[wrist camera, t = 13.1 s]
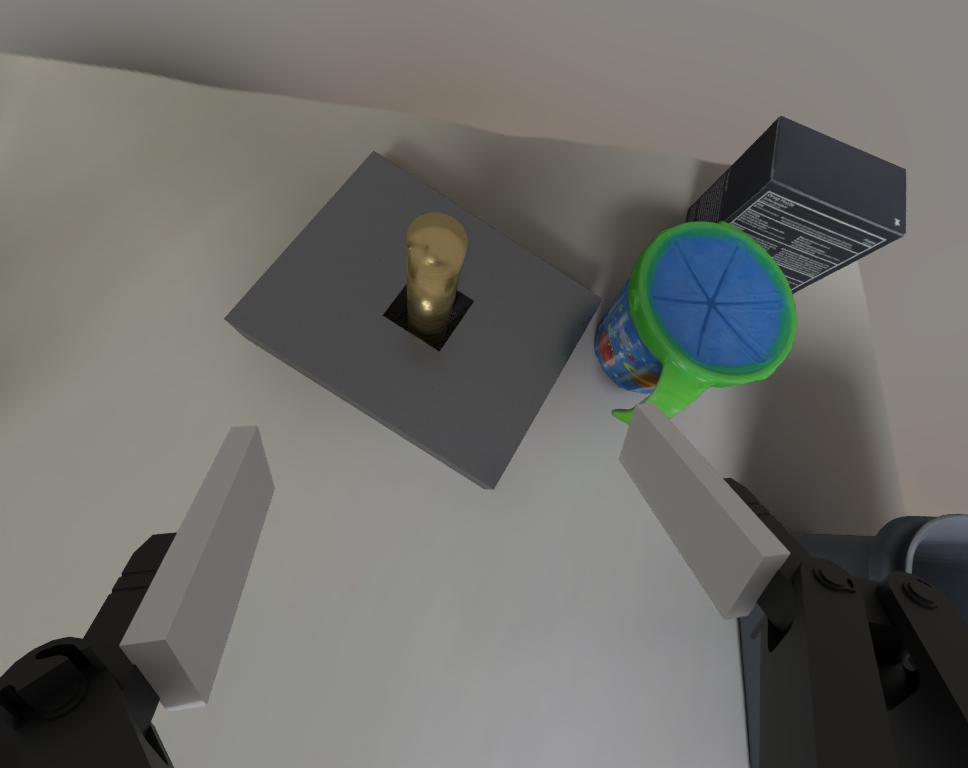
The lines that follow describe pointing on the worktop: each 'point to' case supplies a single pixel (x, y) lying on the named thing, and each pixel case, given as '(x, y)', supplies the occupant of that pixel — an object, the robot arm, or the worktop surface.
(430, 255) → the brass pin
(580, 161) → the worktop surface
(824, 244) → the small box
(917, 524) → the storage bin
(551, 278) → the plate
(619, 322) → the snack cup
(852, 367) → the worktop surface
